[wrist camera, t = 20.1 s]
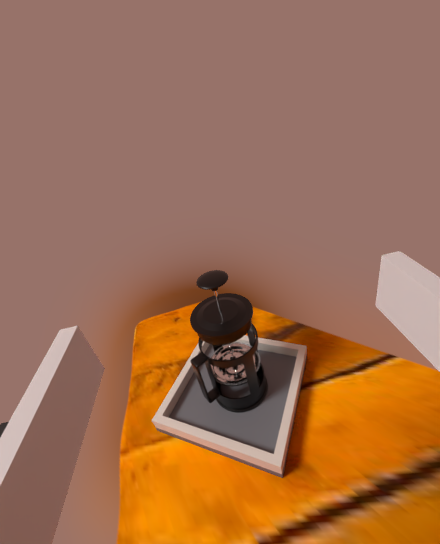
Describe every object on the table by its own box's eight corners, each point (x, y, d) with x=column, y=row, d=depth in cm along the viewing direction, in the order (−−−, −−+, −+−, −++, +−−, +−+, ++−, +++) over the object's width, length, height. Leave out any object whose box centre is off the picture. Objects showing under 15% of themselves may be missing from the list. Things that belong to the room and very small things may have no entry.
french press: (245, 353, 54) (222, 249, 42) (282, 384, 47) (267, 269, 35) (195, 392, 49) (152, 287, 37) (228, 433, 42) (188, 318, 30)
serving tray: (307, 357, 51) (306, 345, 50) (282, 477, 36) (280, 467, 35) (209, 339, 60) (206, 329, 59) (157, 430, 45) (151, 420, 44)
